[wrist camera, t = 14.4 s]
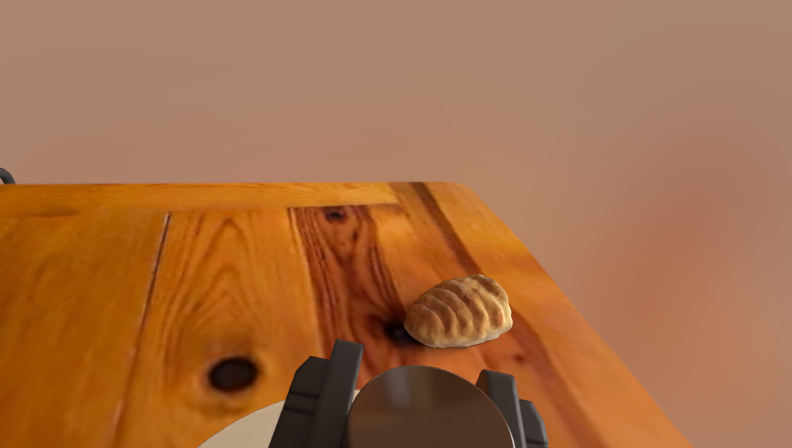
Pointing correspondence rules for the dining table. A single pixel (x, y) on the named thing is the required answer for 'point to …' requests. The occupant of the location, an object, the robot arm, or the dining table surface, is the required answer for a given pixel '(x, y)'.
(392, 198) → the dining table surface
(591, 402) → the dining table surface
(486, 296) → the pastry
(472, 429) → the lid
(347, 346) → the robot arm
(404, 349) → the dining table surface
